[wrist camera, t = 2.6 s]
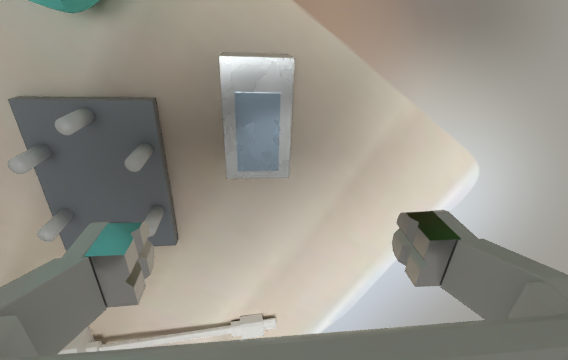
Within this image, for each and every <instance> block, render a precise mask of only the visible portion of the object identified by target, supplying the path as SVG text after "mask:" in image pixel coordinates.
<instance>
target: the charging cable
mask: <svg viewBox="0 0 568 360" xmlns="http://www.w3.org/2000/svg"><path fill="white" fill-rule="evenodd" d="M269 329H276V321H275V318H269V319H263V318H262V314H255V315H248V316H241V317H240V321H234V322H231V325H229V326H223V327H216V328H210V329H203V330H196V331H190V332H183V333H177V334H170V335H164V336H157V337H150V338H144V339H137V340H131V341H124V342H118V343H111V344H105V345H102V343H101V341H95V339H94V337H93V335H92V333H91V331H90V329H89V327H86V328H85V329H84V330H83V331H82V332H81V333H80V334H79V335H78V336H77V337H76V338H74V339H73V340H72V341H71V342H70V343H69V344H68V345H67V346H66V347H65V348H64V349H63V350H61V351H60V352H59V353H58V354H69V353H82V352H95V351H108V350H120V349H133V348H141V347H147V346H153V345H160V344H166V343H173V342H179V341H185V340H192V339H198V338H205V337H211V336H218V335H224V334H230V333H231V334H232V337H234V336H240V335H242V339H247V338H253V337H259V336H264V330H269Z"/></svg>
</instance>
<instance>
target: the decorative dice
mask: <svg viewBox="0 0 568 360" xmlns="http://www.w3.org/2000/svg"><path fill="white" fill-rule="evenodd" d="M29 1H32V2H34V3H37V4H40V5H43V6H46V7H49V8H52V9H55V10H59V11H63V12H68V13H76V12H81V11H84V10H87V9H89V8H90V7H92V6H93V5H95V4H96V3H97V2H98V1H99V0H29Z"/></svg>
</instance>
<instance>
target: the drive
mask: <svg viewBox="0 0 568 360" xmlns="http://www.w3.org/2000/svg"><path fill="white" fill-rule="evenodd" d="M219 62H220V78H221V95H222V112H223V129H224V146H225V163H226V179H248V178H289V166H290V145H291V124H292V103H293V83H294V62H295V58H293V57H292V56H290V55H288V54H265V53H231V52H223V53H222V54H221V55H220V56H219Z"/></svg>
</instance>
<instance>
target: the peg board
mask: <svg viewBox="0 0 568 360" xmlns="http://www.w3.org/2000/svg"><path fill="white" fill-rule="evenodd" d="M8 101H9V103H10V106H11V109H12V111H13V114H14V116H15V119H16V122H17V124H18V127H19V129H20V132H21V135H22V137H23V140H24V142H25V145H26V148H27V151H25V152H23V153H21V154H19V155H18V156H16V157H14V158H12V159H10V160H9V161H8V167H9V168H10V170H11V171H13V172H15V173H17V174H24V173H26V172H27V171H29V170H30V169H32V168H34V169H35V171H36V174H37V176H38V179H39V182H40V184H41V187H42V189H43V192H44V195H45V197H46V200H47V202H48V205H49V208H50V210H51V213H52V215H53V218H52V219H51V220H50V221H48V222H47V223H46V224H45V225H44V226H43V227H42V228H41V229H40V230H39V231H38V237H39V238H40V239H41V240H44V241H52V240H54V238H55V237H56V236H57V235H58V234H60V236H61V239H62V241H63V244H64V247H65V249H66V251H67V250H68V249H69V248H70V247H71V246H72V244H73V243H74V242H75V241H76V240H77V238H78V237H79V236H80V235H81V233H82V232H83V231H84V230H85V229H86V227H87V226H88V225H89V224H90V223H93V222H123V221H145V222H147V223H148V226H149V230H150V234H149V236H148V238H147V240H148V241H150V242H151V243H152V244H153V246H170V245H176V244H177V241H178V235H177V228H176V222H175V216H174V210H173V204H172V197H171V191H170V185H169V179H168V173H167V166H166V160H165V154H164V148H163V142H162V136H161V129H160V123H159V117H158V111H157V105H156V98H103V97H15V98H11V99H8Z"/></svg>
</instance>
